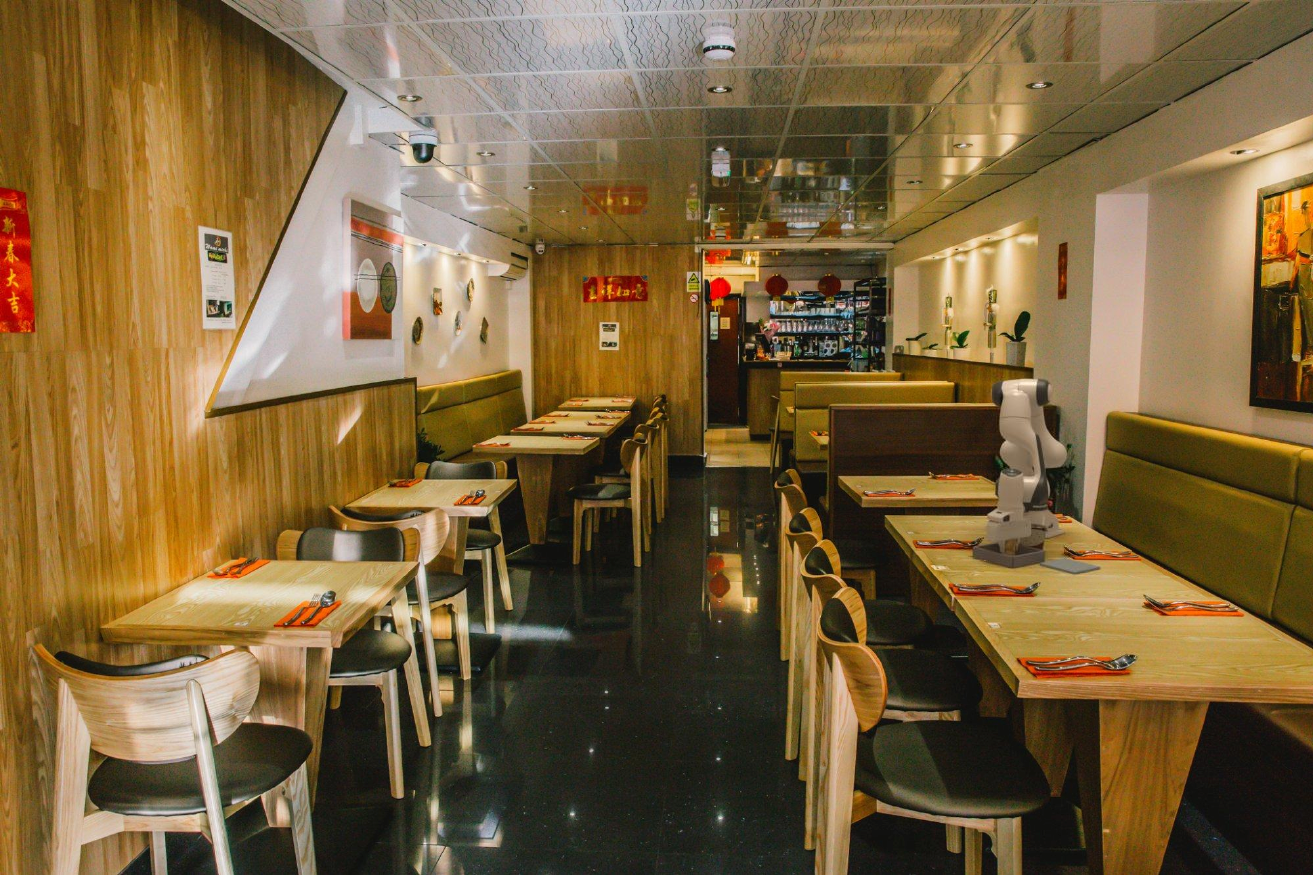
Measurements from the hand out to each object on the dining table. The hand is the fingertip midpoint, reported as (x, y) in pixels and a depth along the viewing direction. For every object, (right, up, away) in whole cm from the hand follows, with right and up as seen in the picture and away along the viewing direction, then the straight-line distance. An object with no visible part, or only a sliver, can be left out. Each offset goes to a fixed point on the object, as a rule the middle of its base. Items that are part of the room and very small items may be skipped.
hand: (1008, 551), depth 323 cm
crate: (0, -3, 0) cm, 3 cm away
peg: (0, -3, 0) cm, 3 cm away
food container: (+13, -2, +14) cm, 19 cm away
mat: (+17, -4, -11) cm, 21 cm away
